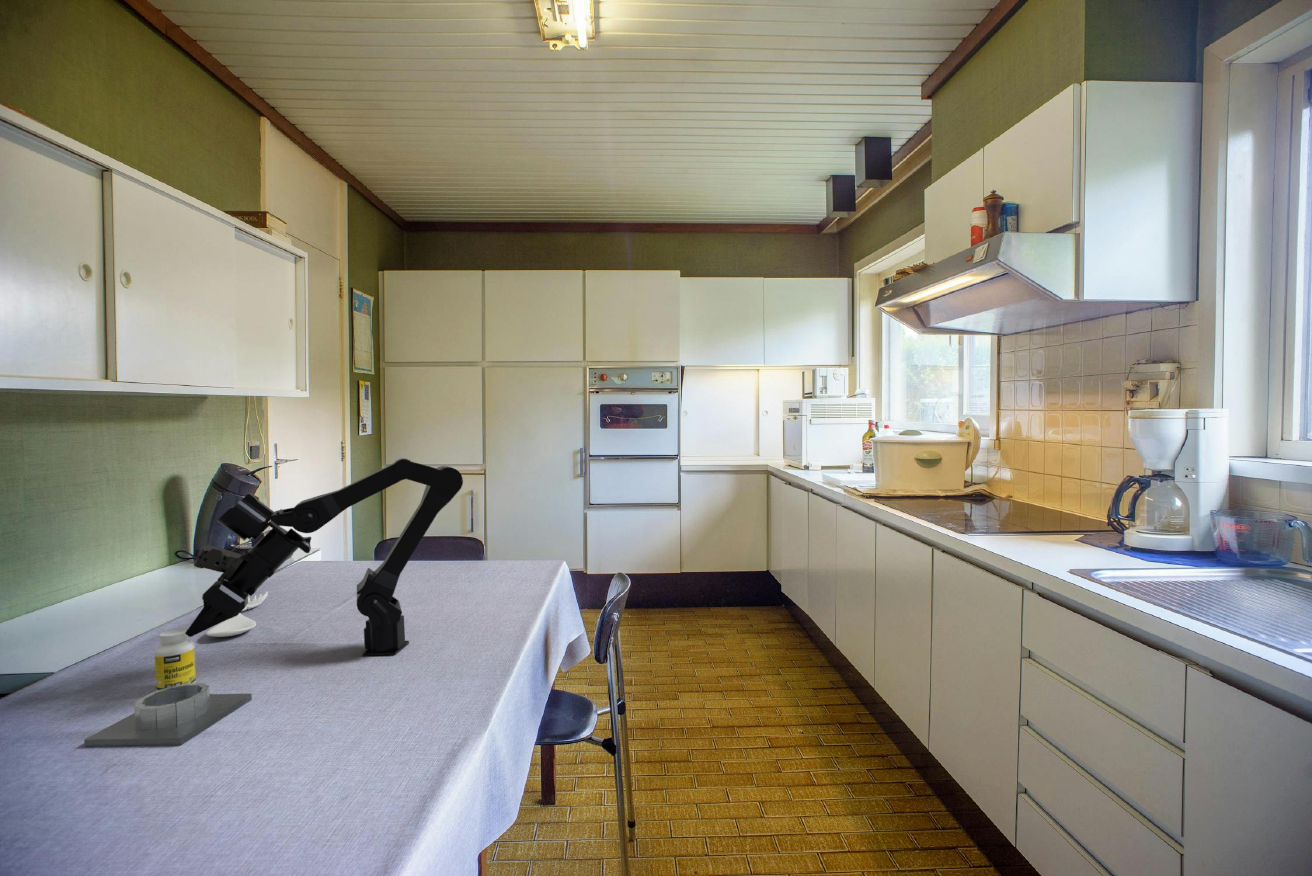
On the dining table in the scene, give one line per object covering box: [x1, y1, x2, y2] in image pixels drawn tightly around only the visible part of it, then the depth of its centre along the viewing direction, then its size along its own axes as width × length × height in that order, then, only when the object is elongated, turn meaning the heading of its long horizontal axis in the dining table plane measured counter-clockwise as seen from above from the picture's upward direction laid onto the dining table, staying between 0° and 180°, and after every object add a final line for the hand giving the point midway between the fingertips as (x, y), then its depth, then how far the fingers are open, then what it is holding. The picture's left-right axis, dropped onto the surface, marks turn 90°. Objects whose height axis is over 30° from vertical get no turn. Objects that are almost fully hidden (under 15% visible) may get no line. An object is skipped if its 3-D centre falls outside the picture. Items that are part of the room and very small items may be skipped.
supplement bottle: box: [154, 627, 197, 691], centre depth 104 cm, size 5×5×10 cm
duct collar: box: [83, 682, 253, 748], centre depth 91 cm, size 14×14×4 cm
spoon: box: [204, 590, 269, 638], centre depth 141 cm, size 9×32×4 cm, turn 27°
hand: (194, 627), depth 105 cm, fingers open, 9 cm apart
